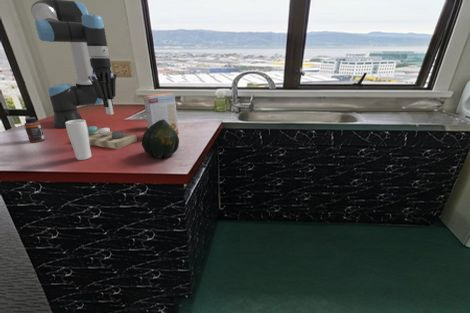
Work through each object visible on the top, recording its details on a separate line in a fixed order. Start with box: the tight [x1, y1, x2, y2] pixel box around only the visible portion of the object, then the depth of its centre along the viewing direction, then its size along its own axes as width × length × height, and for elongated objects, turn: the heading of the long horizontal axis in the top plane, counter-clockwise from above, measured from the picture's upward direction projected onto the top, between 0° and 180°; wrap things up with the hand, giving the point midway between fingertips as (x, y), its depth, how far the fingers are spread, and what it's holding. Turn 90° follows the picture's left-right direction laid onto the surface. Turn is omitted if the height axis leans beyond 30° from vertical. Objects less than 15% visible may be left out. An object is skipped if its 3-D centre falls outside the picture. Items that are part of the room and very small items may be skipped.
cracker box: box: [143, 92, 179, 135], centre depth 124 cm, size 14×6×21 cm, turn 134°
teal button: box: [87, 125, 99, 133], centre depth 119 cm, size 5×5×2 cm
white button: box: [97, 127, 111, 135], centre depth 117 cm, size 5×5×2 cm
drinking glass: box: [65, 118, 92, 161], centre depth 97 cm, size 7×7×15 cm
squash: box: [141, 119, 180, 159], centre depth 101 cm, size 14×15×15 cm
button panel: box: [88, 131, 138, 150], centre depth 118 cm, size 26×12×3 cm, turn 69°
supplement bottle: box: [23, 116, 46, 143], centre depth 117 cm, size 6×6×11 cm
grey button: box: [111, 130, 125, 138], centre depth 114 cm, size 5×5×2 cm
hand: (110, 113), depth 112 cm, fingers closed
